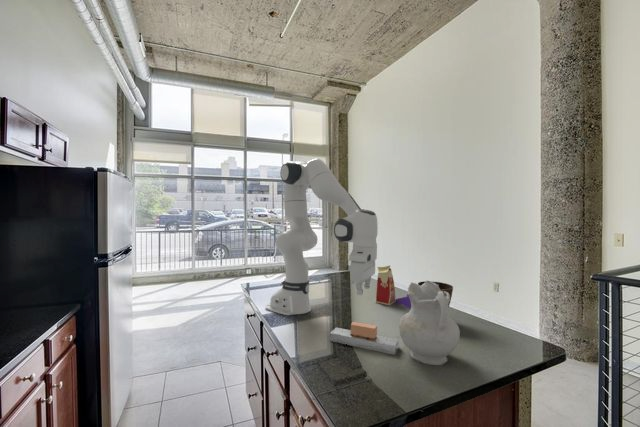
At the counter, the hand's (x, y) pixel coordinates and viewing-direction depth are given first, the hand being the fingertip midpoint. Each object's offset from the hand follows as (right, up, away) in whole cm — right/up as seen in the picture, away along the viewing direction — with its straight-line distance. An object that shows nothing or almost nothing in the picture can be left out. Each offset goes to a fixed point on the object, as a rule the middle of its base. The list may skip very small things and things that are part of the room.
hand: (363, 291), depth 110 cm
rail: (0, -19, -1) cm, 19 cm away
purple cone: (+30, -20, +48) cm, 60 cm away
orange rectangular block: (0, -19, -1) cm, 19 cm away
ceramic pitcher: (+21, -20, -10) cm, 31 cm away
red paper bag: (+19, -19, +51) cm, 58 cm away
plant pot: (+36, -20, +25) cm, 48 cm away
